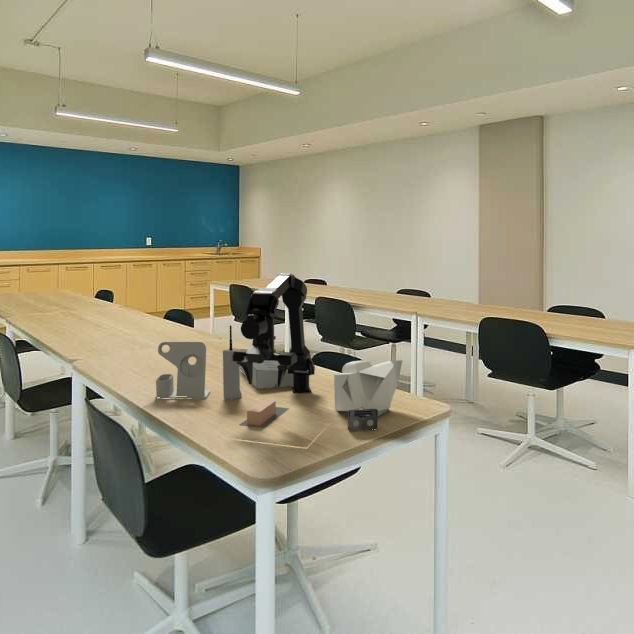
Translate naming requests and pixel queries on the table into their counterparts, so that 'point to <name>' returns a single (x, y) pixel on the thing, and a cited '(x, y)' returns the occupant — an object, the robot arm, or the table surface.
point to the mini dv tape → (362, 419)
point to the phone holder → (184, 371)
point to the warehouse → (268, 375)
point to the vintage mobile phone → (231, 373)
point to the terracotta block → (261, 412)
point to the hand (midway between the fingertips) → (264, 385)
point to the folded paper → (366, 385)
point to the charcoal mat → (278, 412)
